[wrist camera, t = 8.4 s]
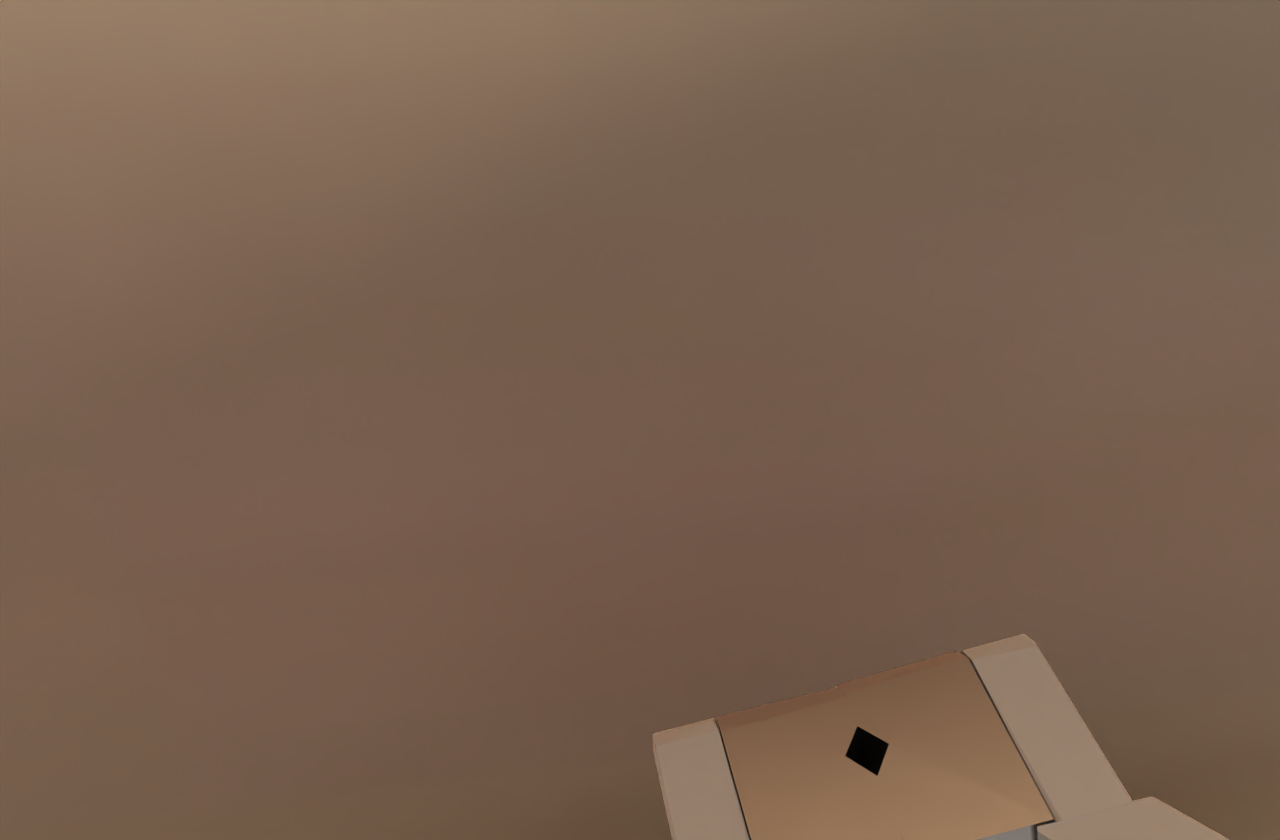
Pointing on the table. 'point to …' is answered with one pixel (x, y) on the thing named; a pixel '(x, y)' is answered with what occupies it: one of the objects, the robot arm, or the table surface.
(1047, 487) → the table surface
